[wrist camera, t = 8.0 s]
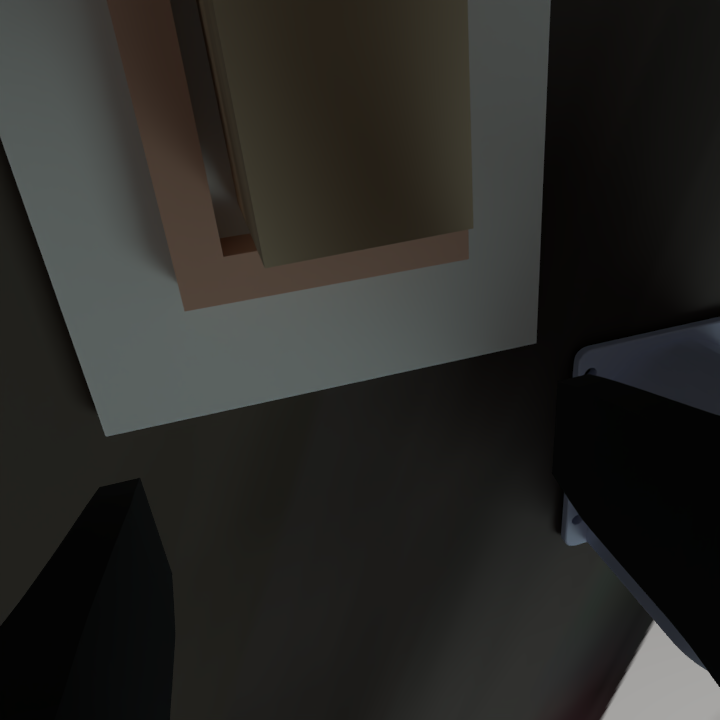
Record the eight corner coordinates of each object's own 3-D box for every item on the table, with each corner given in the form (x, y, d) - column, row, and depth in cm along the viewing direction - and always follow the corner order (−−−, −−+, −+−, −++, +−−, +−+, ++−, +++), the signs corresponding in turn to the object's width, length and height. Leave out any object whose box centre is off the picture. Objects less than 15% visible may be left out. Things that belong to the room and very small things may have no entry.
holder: (521, 331, 21) (565, 366, 19) (109, 419, 19) (98, 472, 16) (543, -424, 13) (627, -538, 11) (-192, -456, 10) (-305, -616, 8)
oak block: (357, -89, 14) (463, -182, 9) (382, 177, 17) (473, 228, 11) (180, -74, 13) (180, -165, 8) (237, 202, 16) (264, 268, 11)
